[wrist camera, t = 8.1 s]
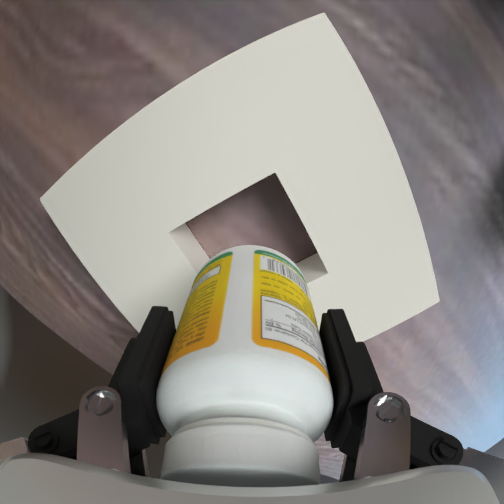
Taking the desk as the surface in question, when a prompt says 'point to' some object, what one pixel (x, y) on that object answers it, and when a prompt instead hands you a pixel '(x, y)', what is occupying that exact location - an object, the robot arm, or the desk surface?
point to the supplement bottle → (245, 377)
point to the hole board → (247, 173)
